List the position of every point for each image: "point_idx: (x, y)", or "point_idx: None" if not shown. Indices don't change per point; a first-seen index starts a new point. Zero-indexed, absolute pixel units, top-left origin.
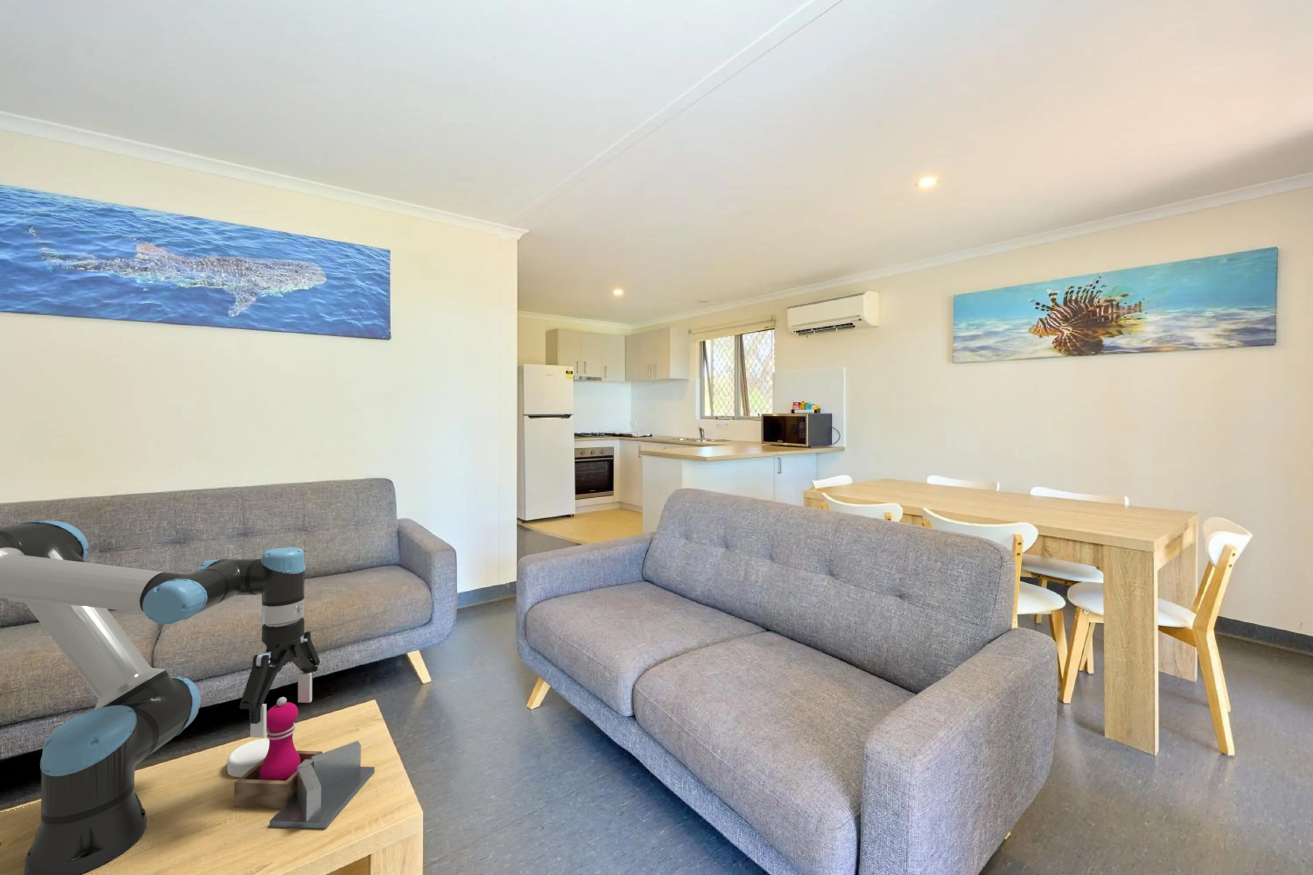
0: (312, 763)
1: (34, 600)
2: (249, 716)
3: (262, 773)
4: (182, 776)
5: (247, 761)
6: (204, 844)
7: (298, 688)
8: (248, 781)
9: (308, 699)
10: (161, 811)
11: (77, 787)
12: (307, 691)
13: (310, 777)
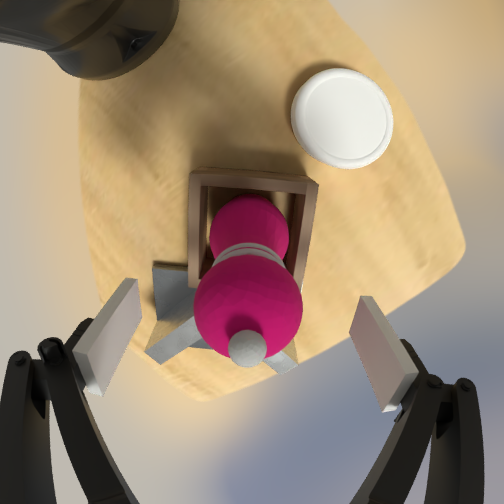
0: None
1: None
2: (71, 336)
3: (214, 220)
4: (296, 8)
5: (302, 126)
6: (114, 189)
7: (379, 329)
8: (193, 203)
9: (353, 335)
10: (190, 45)
11: None
12: (363, 351)
13: (178, 342)
